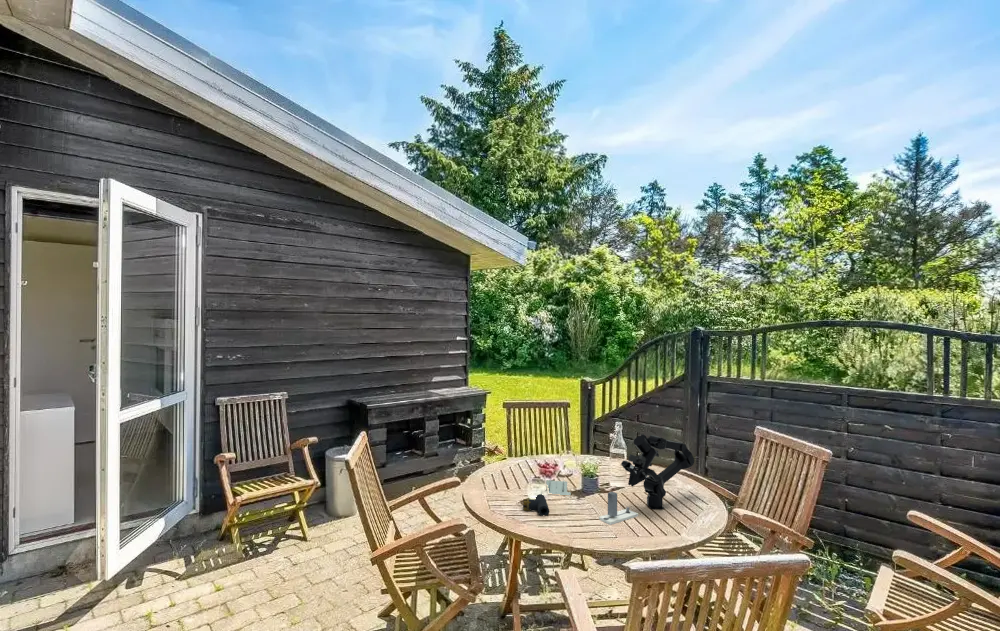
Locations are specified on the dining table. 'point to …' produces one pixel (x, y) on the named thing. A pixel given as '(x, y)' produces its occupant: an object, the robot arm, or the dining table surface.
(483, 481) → the dining table surface
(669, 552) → the dining table surface
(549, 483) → the metal bracket
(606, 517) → the bolt plate
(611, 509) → the gray metal block
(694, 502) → the dining table surface
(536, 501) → the pipe connector
